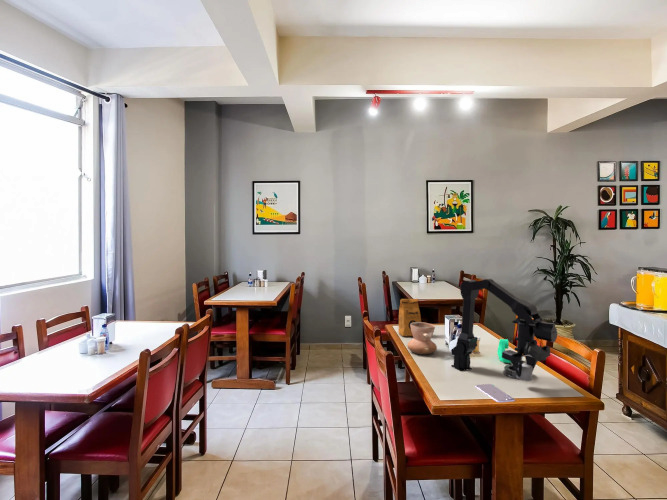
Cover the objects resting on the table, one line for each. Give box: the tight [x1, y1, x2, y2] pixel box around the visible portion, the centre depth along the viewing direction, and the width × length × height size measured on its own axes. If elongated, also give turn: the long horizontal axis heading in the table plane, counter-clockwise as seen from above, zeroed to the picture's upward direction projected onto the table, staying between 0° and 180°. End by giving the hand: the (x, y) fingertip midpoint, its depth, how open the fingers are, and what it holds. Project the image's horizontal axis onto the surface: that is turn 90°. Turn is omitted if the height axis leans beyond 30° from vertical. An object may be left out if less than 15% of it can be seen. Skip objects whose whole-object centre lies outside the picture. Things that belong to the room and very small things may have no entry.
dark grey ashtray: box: [502, 364, 519, 380], centre depth 160 cm, size 11×11×3 cm
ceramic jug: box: [406, 321, 438, 355], centre depth 190 cm, size 18×14×14 cm
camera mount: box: [496, 338, 512, 364], centre depth 179 cm, size 12×8×10 cm, turn 167°
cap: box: [517, 363, 534, 382], centre depth 146 cm, size 5×5×5 cm
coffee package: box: [398, 298, 422, 337], centre depth 222 cm, size 10×12×22 cm
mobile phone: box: [474, 383, 516, 403], centre depth 141 cm, size 8×1×15 cm
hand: (524, 375), depth 146 cm, fingers closed on cap, 5 cm apart
